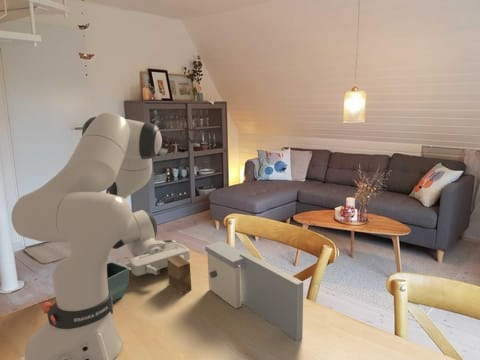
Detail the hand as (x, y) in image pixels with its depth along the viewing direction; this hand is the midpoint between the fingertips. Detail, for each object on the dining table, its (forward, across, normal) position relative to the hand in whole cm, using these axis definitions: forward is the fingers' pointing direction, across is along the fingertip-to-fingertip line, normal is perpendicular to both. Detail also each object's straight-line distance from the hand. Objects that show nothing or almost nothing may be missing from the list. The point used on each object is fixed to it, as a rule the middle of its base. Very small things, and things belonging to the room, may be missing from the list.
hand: (171, 267), depth 119 cm
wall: (+29, +9, +5) cm, 31 cm away
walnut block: (+5, 0, +5) cm, 7 cm away
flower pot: (-3, -19, +5) cm, 20 cm away
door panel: (+19, +6, +5) cm, 21 cm away
